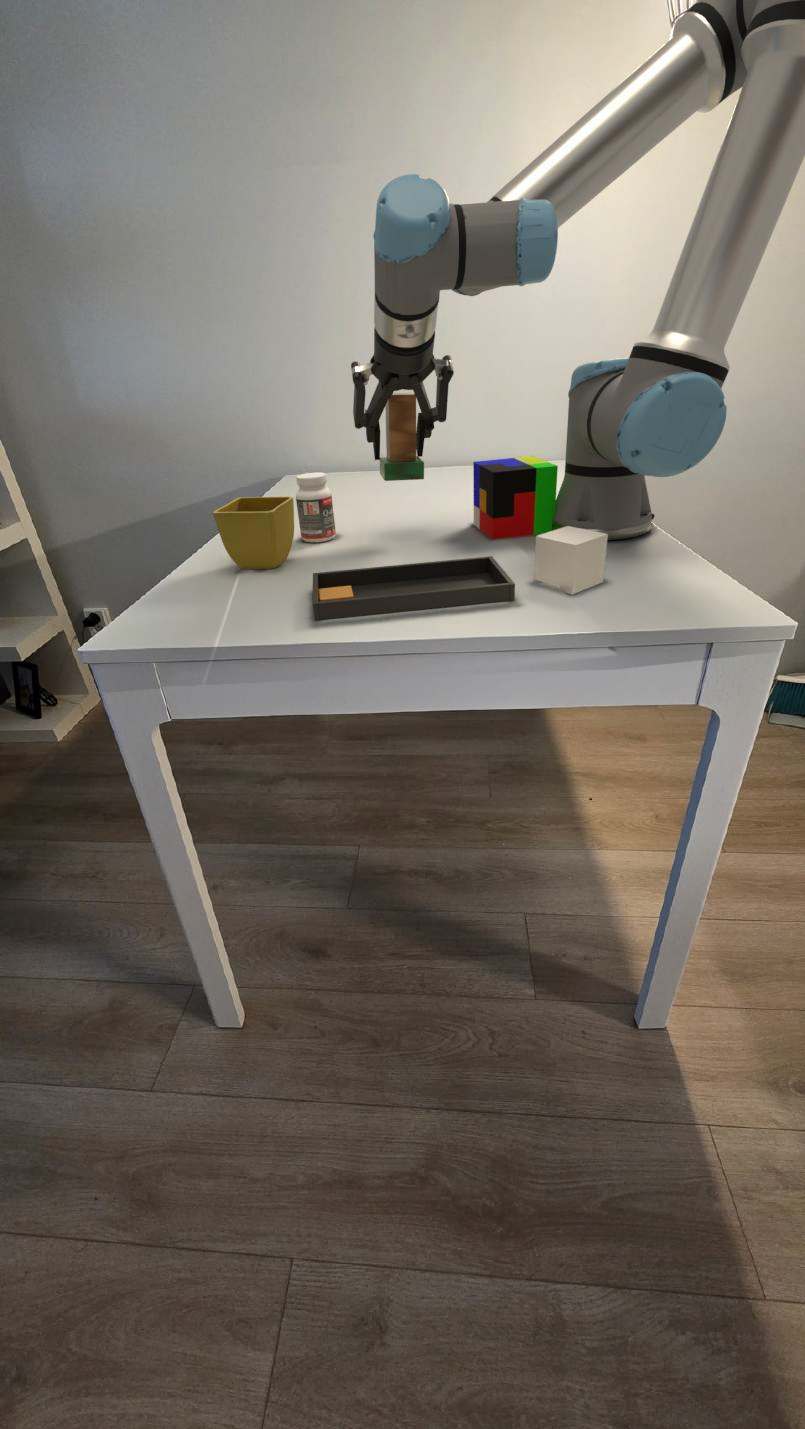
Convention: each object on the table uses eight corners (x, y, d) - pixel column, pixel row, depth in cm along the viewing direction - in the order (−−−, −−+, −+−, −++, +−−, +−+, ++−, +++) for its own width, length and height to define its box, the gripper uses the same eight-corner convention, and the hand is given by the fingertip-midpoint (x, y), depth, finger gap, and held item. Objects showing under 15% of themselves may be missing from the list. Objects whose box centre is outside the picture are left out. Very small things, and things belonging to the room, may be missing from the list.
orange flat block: (352, 594, 80) (351, 585, 79) (354, 605, 76) (353, 596, 76) (319, 598, 79) (318, 588, 79) (320, 609, 76) (319, 599, 75)
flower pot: (281, 577, 89) (271, 511, 85) (224, 576, 91) (210, 511, 86) (303, 557, 97) (294, 496, 92) (249, 557, 98) (238, 497, 94)
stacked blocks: (417, 472, 102) (417, 392, 96) (424, 479, 97) (424, 394, 91) (380, 474, 101) (377, 393, 95) (384, 481, 96) (382, 395, 90)
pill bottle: (334, 542, 103) (326, 477, 98) (299, 544, 103) (289, 479, 98) (338, 532, 108) (331, 470, 103) (304, 534, 108) (295, 473, 103)
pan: (491, 575, 84) (491, 556, 83) (514, 605, 75) (515, 583, 74) (315, 592, 83) (312, 573, 81) (315, 625, 73) (312, 603, 72)
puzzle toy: (473, 525, 108) (473, 461, 103) (530, 518, 109) (532, 456, 104) (492, 540, 99) (493, 472, 94) (553, 533, 101) (557, 465, 95)
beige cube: (533, 583, 81) (535, 536, 78) (564, 572, 84) (567, 525, 81) (572, 594, 77) (576, 544, 74) (603, 582, 80) (608, 533, 77)
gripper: (330, 357, 77) (339, 476, 99) (486, 347, 78) (460, 466, 100) (324, 307, 78) (334, 435, 101) (476, 298, 80) (453, 426, 102)
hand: (397, 450), depth 101 cm, fingers closed on stacked blocks, 6 cm apart
